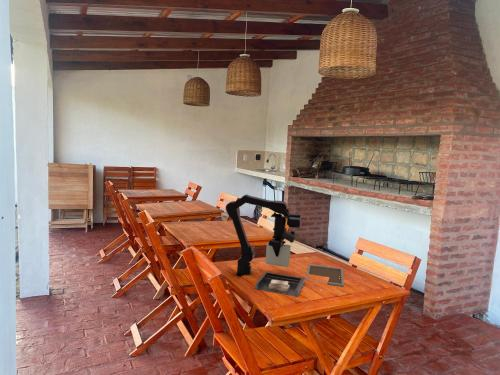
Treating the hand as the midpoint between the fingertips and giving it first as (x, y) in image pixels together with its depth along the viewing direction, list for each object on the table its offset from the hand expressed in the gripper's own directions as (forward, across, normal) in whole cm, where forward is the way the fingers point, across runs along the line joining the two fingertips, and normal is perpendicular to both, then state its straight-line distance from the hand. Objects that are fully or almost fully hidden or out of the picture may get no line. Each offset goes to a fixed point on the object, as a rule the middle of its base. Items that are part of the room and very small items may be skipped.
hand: (277, 256), depth 202 cm
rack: (+12, -12, -5) cm, 18 cm away
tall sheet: (+5, 0, 0) cm, 5 cm away
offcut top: (+10, -15, -5) cm, 18 cm away
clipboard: (+13, +18, -23) cm, 32 cm away
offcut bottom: (+11, -15, -5) cm, 19 cm away
